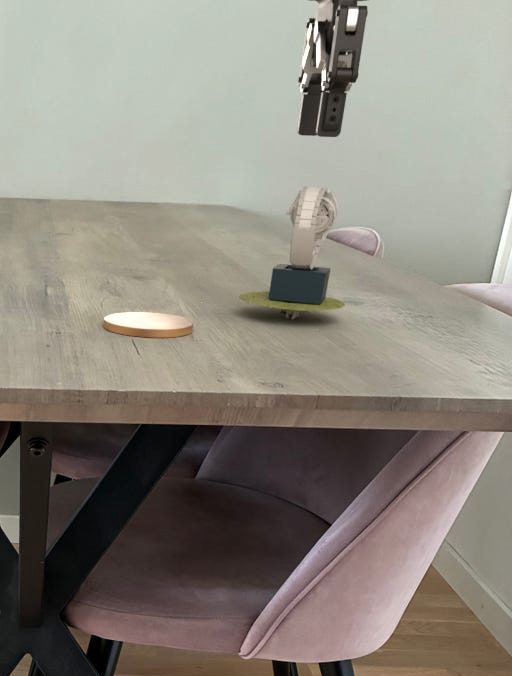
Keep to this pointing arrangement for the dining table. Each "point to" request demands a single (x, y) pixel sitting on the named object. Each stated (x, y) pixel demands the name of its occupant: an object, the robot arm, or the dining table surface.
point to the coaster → (148, 324)
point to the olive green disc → (290, 304)
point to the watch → (306, 248)
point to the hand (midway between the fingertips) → (317, 136)
